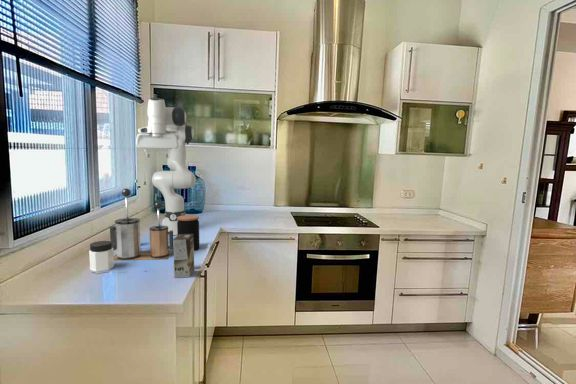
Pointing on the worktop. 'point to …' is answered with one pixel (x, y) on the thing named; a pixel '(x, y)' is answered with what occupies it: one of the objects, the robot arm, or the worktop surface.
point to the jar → (101, 256)
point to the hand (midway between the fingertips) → (158, 157)
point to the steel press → (126, 238)
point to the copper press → (160, 241)
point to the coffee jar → (189, 227)
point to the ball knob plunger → (158, 205)
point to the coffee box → (183, 255)
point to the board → (145, 256)
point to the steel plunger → (126, 193)
